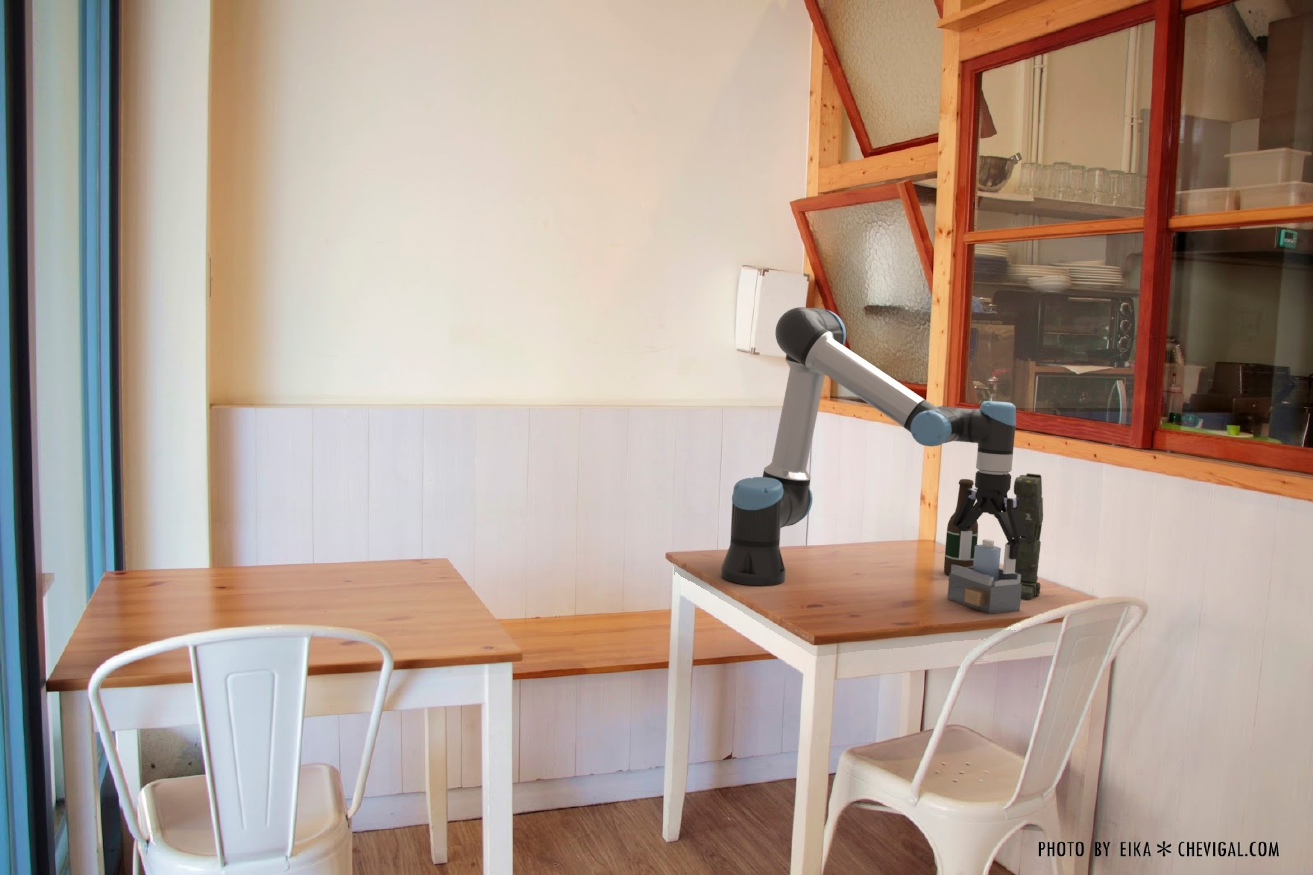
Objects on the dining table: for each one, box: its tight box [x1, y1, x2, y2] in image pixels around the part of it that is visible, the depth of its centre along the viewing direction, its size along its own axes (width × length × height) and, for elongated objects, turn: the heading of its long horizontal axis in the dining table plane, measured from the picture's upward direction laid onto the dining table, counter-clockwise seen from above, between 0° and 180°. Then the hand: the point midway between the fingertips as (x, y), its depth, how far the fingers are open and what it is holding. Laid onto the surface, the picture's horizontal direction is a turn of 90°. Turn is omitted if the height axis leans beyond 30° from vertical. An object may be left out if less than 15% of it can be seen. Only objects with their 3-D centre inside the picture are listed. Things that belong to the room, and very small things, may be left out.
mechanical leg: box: [1013, 472, 1044, 601], centre depth 245 cm, size 14×7×30 cm, turn 149°
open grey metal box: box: [946, 564, 1022, 615], centre depth 236 cm, size 15×11×8 cm
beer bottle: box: [943, 478, 979, 576], centre depth 262 cm, size 8×8×24 cm
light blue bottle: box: [973, 539, 1002, 581], centre depth 235 cm, size 6×6×8 cm
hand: (986, 566), depth 235 cm, fingers open, 13 cm apart
